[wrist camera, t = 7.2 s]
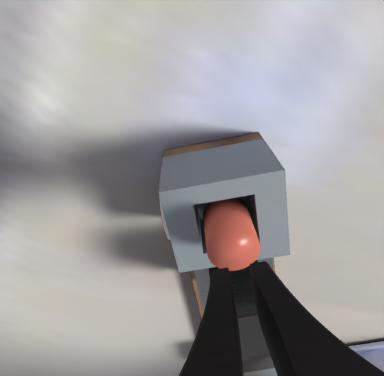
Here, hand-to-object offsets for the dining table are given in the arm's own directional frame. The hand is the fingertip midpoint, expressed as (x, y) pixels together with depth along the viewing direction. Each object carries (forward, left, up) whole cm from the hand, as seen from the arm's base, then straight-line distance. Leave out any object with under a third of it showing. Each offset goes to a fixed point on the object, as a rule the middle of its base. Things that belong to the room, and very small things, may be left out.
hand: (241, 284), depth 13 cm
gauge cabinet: (0, 0, -9) cm, 9 cm away
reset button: (0, 0, -5) cm, 5 cm away
